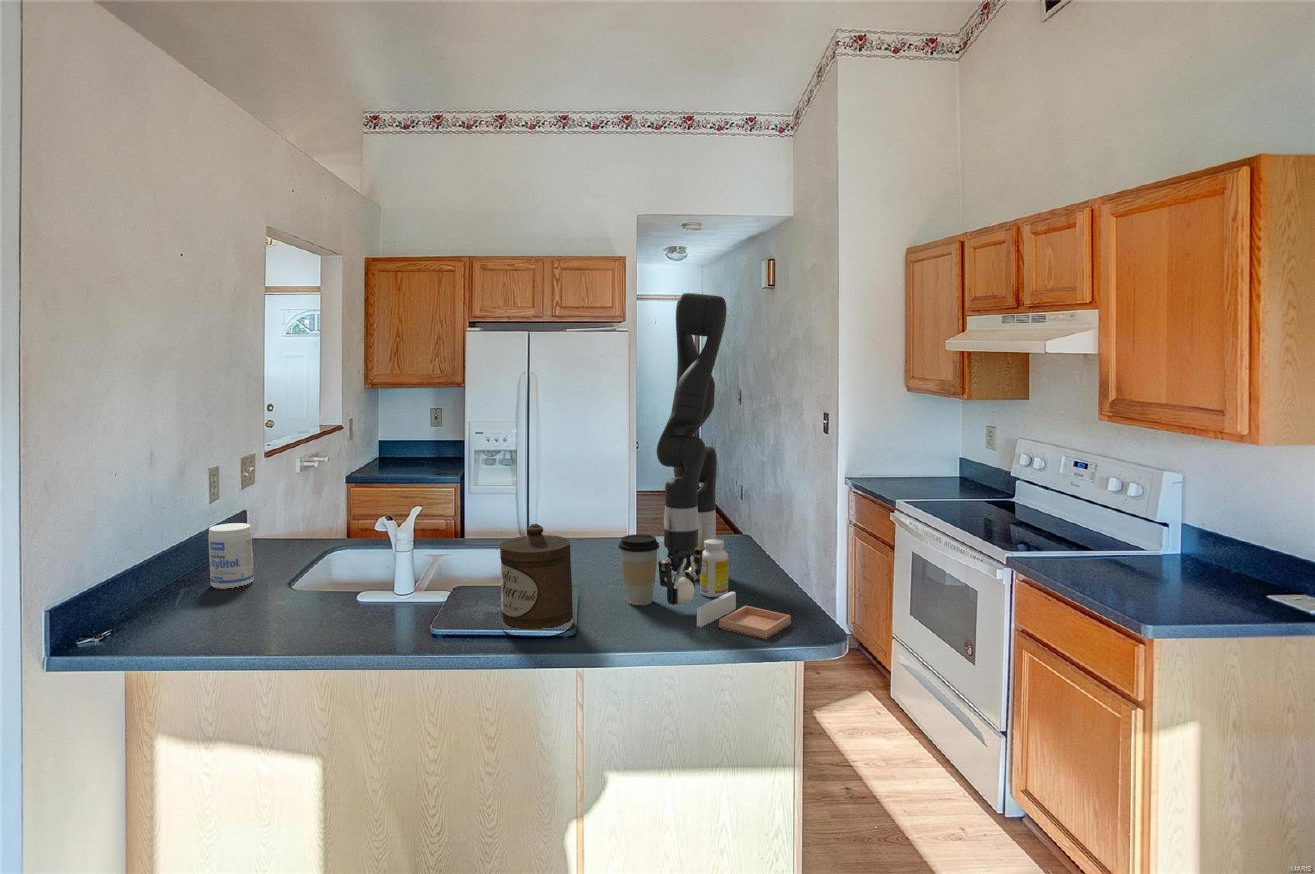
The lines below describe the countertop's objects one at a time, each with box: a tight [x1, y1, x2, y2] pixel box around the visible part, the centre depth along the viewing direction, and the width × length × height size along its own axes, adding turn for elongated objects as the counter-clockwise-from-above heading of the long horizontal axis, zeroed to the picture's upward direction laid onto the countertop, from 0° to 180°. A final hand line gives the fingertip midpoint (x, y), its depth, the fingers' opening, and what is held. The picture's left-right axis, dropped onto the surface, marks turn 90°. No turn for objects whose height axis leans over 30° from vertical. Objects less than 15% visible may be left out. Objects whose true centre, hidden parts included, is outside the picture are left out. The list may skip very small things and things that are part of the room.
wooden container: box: [499, 523, 574, 629], centre depth 171 cm, size 15×15×22 cm
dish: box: [718, 605, 792, 640], centre depth 171 cm, size 11×11×2 cm
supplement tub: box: [208, 522, 254, 590], centre depth 202 cm, size 10×10×15 cm
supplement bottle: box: [699, 538, 729, 598], centre depth 193 cm, size 7×7×13 cm
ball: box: [672, 577, 696, 606], centre depth 179 cm, size 6×6×6 cm
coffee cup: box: [617, 533, 660, 606], centre depth 187 cm, size 9×9×15 cm
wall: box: [696, 591, 737, 628], centre depth 177 cm, size 1×14×4 cm, turn 144°
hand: (681, 599), depth 180 cm, fingers closed on ball, 6 cm apart
